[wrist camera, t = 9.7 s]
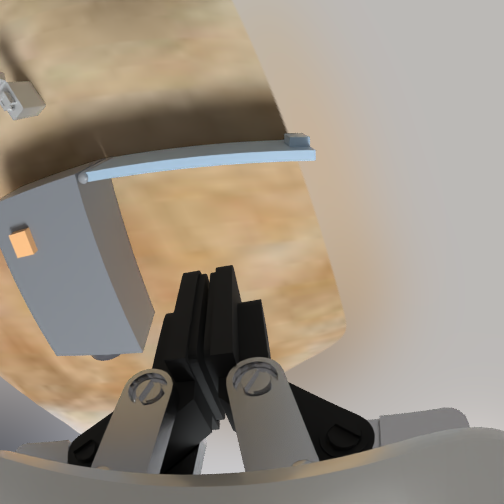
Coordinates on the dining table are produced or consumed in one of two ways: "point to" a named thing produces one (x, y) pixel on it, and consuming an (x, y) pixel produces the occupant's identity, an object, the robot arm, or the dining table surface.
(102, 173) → the side door
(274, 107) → the dining table surface
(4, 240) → the grey block
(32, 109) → the pale grey angled bracket
